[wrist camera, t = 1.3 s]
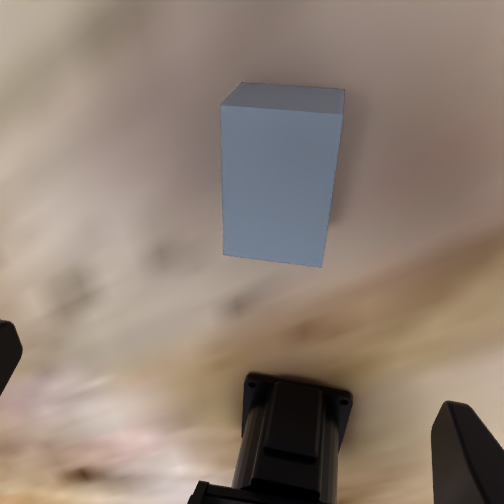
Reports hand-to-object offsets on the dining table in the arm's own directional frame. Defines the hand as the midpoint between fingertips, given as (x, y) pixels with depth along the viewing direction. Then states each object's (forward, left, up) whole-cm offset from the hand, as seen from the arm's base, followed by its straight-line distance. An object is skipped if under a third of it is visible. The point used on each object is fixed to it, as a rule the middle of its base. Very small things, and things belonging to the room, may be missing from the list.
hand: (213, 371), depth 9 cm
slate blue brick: (0, 0, -12) cm, 12 cm away
